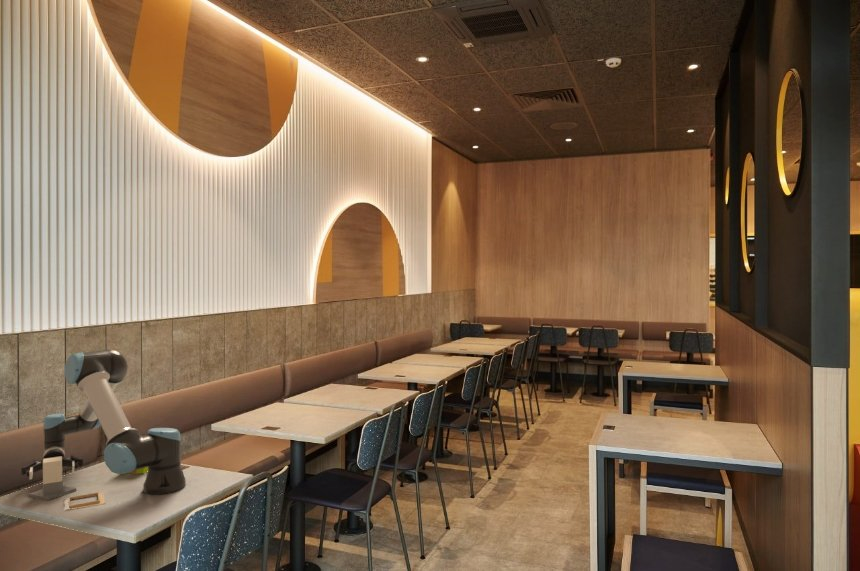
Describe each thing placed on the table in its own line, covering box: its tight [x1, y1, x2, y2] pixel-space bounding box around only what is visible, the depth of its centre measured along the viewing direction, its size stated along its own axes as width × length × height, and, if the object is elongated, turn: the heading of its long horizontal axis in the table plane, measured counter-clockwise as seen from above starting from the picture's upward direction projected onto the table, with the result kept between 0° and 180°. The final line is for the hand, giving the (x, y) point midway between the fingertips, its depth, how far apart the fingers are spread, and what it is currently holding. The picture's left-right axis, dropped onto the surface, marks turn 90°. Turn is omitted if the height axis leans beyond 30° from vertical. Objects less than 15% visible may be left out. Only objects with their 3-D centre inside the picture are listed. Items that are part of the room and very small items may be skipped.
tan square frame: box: [68, 491, 106, 510], centre depth 216 cm, size 13×13×1 cm
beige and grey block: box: [42, 456, 63, 495], centre depth 224 cm, size 6×6×12 cm
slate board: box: [28, 484, 77, 501], centre depth 224 cm, size 11×11×1 cm
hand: (52, 472), depth 221 cm, fingers open, 13 cm apart
